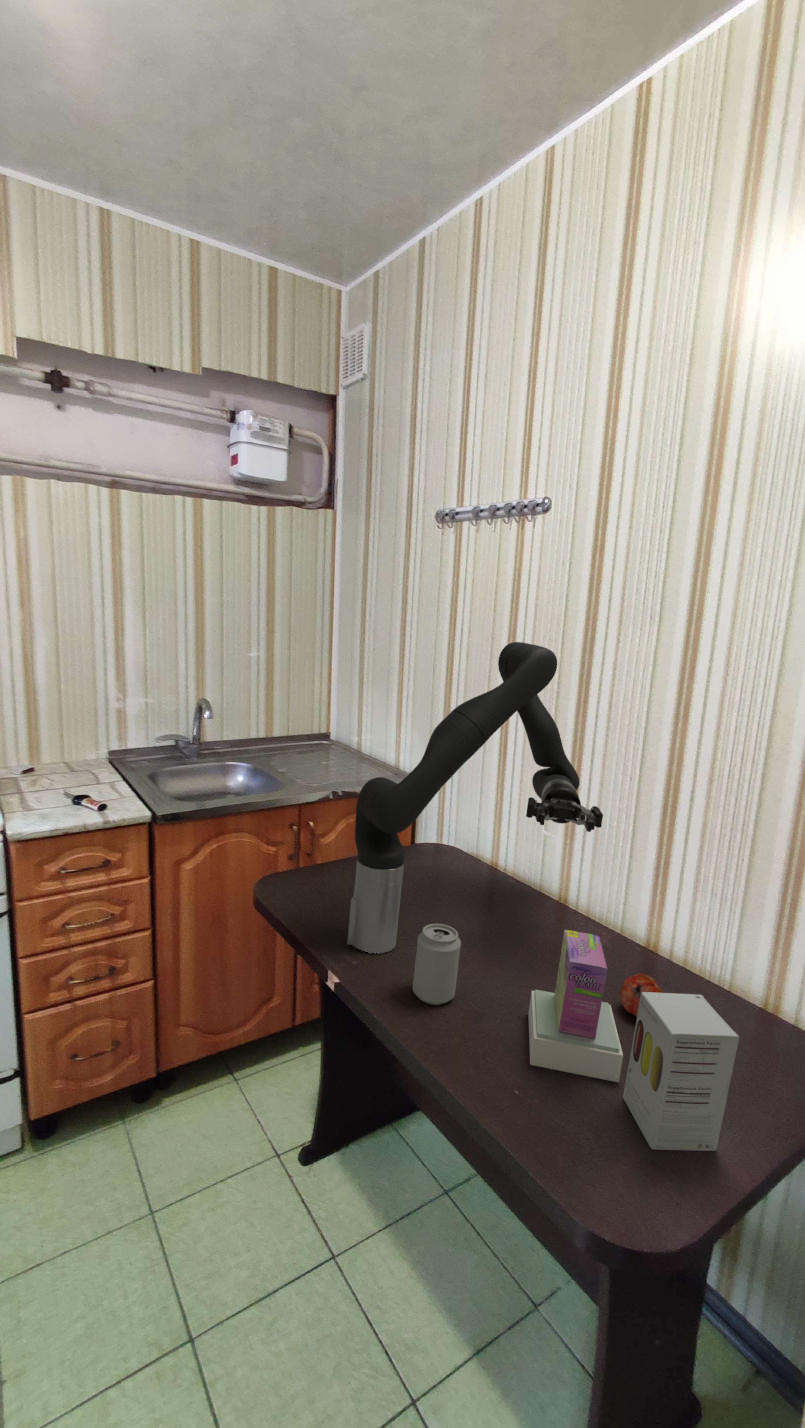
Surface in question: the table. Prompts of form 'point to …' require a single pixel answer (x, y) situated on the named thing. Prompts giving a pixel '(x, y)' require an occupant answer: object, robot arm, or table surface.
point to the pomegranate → (637, 991)
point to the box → (580, 984)
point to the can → (436, 964)
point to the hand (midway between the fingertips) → (566, 823)
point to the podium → (573, 1042)
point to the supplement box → (679, 1071)
